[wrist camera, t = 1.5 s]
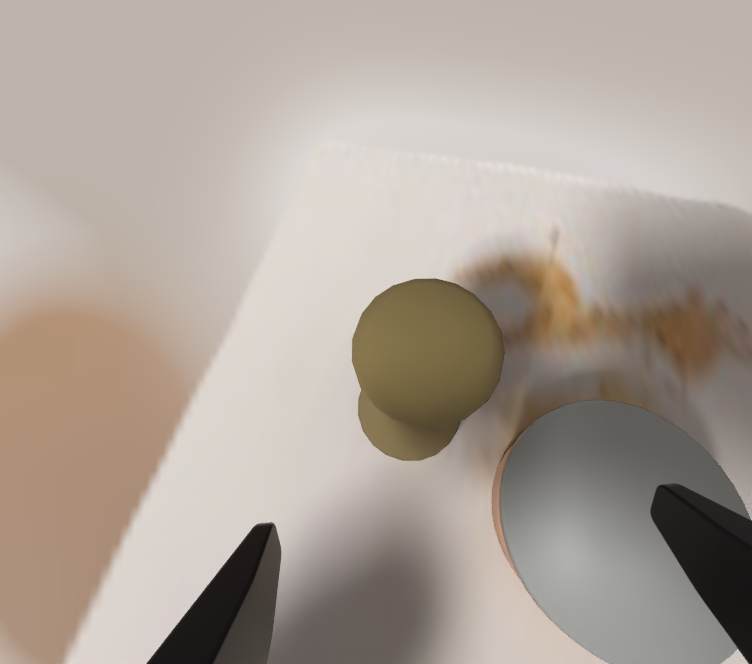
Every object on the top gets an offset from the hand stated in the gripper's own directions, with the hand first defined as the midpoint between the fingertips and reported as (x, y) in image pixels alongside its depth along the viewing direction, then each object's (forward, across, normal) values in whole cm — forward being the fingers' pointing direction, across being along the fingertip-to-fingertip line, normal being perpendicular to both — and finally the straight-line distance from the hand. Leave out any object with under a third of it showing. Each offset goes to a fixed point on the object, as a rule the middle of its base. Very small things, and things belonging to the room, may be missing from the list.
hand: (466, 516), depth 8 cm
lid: (+5, -8, +7) cm, 12 cm away
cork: (+12, 0, +5) cm, 13 cm away
